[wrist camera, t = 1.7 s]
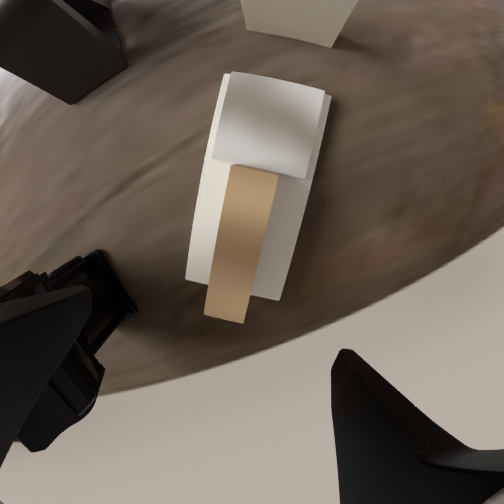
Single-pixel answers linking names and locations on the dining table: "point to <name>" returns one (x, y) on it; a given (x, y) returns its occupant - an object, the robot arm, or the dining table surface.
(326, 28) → the tile
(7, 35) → the phone stand
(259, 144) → the turner
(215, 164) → the tool rest
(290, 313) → the dining table surface
